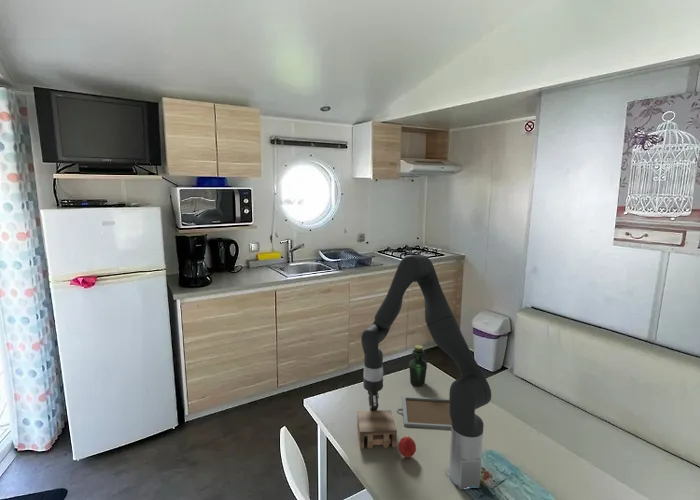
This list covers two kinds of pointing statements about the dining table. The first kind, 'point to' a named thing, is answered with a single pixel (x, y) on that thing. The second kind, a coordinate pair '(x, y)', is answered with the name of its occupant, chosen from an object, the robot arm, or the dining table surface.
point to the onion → (407, 447)
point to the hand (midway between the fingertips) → (372, 417)
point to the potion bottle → (418, 367)
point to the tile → (379, 440)
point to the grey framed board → (426, 412)
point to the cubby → (376, 427)
